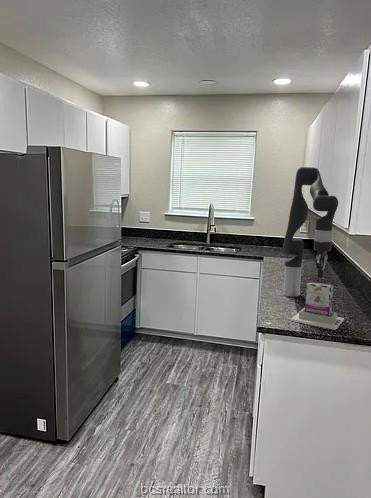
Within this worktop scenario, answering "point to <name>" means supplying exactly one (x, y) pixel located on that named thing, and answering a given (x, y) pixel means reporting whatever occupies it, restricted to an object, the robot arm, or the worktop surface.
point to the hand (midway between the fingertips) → (320, 277)
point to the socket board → (318, 319)
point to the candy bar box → (319, 299)
